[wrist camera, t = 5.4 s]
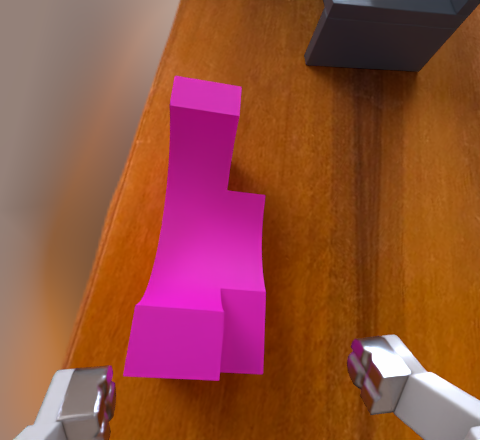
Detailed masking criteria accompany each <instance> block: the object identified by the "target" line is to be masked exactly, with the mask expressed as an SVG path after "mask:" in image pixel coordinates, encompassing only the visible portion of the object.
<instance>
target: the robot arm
mask: <svg viewBox="0 0 480 440" xmlns="http://www.w3.org/2000/svg"><path fill="white" fill-rule="evenodd" d="M351 348H352V349H353V352H352V353H351V354H350V355H349V356H348V360H347V369H348V373H349V376H350V378H351V380H352V382H353V384H354V385H355V386H357V387H358V388H360V389H361V394H360V397H361V399H362V400H363V402H364V404H365V406H366V407H367V409H368V411H369V413H370V415H374V414H382V413H391V412H394V414H395V415H396V416H397V417H399V418H400V419H401V420H402V421H403V422H404V423H406V424H407V425H408V426H409V427H410V428H411V429H413V430H414V431H415V432H416V433H417V434H418V435H419V436H421V437H422V438H423V439H424V440H480V401H479V400H478V399H476V398H474V397H473V396H471V395H469V394H468V393H466V392H464V391H462V390H461V389H459V388H457V387H456V386H454V385H452V384H451V383H449V382H447V381H445V380H444V379H442V378H440V377H439V376H437V375H435V374H434V373H432V372H427V371H426V370H425V369H424V368H423V367H422V365H421V364H420V363H419V362H418V361H417V359H416V358H415V357H414V356H413V354H412V353H411V352H410V351H409V350H408V348H407V347H406V346H405V345H404V343H403V342H402V341H401V340H400V339H399V337H397V336H396V335H386V336H375V337H367V338H358V339H354V340H353V341H352V345H351ZM112 376H113V371H112V366H99V367H86V368H76V369H65V370H57V372H56V373H55V374H54V376H53V378H52V381H51V383H50V385H49V388H48V390H47V393H46V395H45V398H44V400H43V402H42V405H41V407H40V410H39V412H38V415H37V417H36V419H35V422H34V424H33V425H30V426H27V427H26V428H25V429H24V430H23V431H22V432H21V433H20V434H18V435H17V436H16V437H15V438H14V439H13V440H109V438H110V433H111V430H110V425H109V421H110V420H111V419H112V418H113V416H114V411H115V403H116V387H115V383H114V382H112Z"/></svg>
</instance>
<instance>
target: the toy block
mask: <svg viewBox="0 0 480 440" xmlns="http://www.w3.org/2000/svg"><path fill="white" fill-rule="evenodd" d="M241 88H242V87H240V86H234V85H228V84H222V83H216V82H210V81H204V80H198V79H192V78H186V77H180V76H175V78H174V84H173V89H172V95H171V101H170V151H169V167H168V179H167V189H166V198H165V207H164V214H163V221H162V227H161V233H160V239H159V244H158V249H157V254H156V258H155V263H154V267H153V270H152V274H151V277H150V281H149V284H148V286H147V289H146V291H145V294H144V296H143V298H142V299H141V301H140V302H139V303H138V304H137V305H135V310H134V316H133V322H132V328H131V334H130V339H129V345H128V351H127V357H126V363H125V369H124V374H123V376H131V377H152V378H173V379H194V380H215V381H219V378H220V372H224V373H243V374H263V363H264V333H265V303H266V290H265V286H264V279H263V270H262V225H263V213H264V204H265V196H266V195H260V194H252V193H244V192H236V191H228V190H227V188H228V180H229V173H230V166H231V159H232V153H233V147H234V141H235V136H236V130H237V125H238V120H239V115H240V102H241Z"/></svg>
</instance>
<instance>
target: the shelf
mask: <svg viewBox="0 0 480 440" xmlns="http://www.w3.org/2000/svg"><path fill="white" fill-rule="evenodd" d="M323 2H324V6H325V8H324V10H323V12H322V15H321V17H320V19H319V22H318V24H317V27H316V29H315V31H314V34H313V36H312V38H311V41H310V43H309V45H308V48H307V50H306V53H305V55H304V57H305V62H306V65H313V66H330V67H348V68H365V69H382V70H400V71H417V72H419V71H420V70H421V69H422V67H423V66H424V65H425V64H426V63H427V62H428V61H429V60H430V58H431V57H432V56H433V55H434V54H435V53H436V52H437V51H438V49H439V48H440V47H441V46H442V45H443V44H444V43H445V42H446V40H447V39H448V38H449V37H450V36H451V35H452V34H453V33H454V31H455V30H456V29H457V28H458V27H459V26H460V25H461V24H462V23H463V21H464V20H465V19H466V18H467V17H468V16H469V15H470V14H471V13H472V11H473V10H474V9H475V8H476V7H477V6H478V5H479V4H480V0H323Z"/></svg>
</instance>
